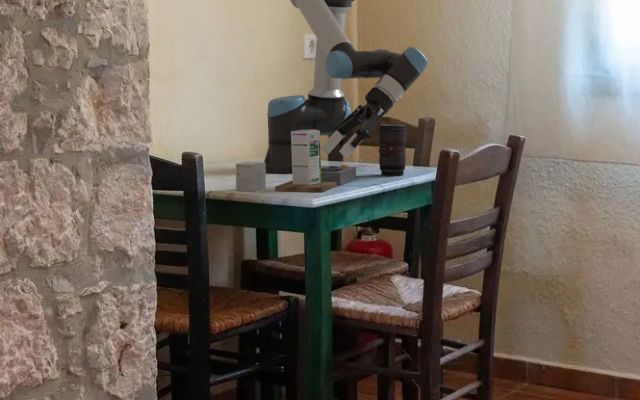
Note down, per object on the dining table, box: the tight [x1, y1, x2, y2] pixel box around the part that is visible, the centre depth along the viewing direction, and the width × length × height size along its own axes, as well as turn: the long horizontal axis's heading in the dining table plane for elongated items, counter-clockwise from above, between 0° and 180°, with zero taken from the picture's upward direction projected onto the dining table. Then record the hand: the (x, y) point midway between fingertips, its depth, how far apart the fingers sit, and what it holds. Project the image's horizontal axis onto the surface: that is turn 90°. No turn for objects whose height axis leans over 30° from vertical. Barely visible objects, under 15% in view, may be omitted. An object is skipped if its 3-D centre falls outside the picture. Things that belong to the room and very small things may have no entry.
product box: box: [235, 161, 267, 192], centre depth 251 cm, size 6×6×7 cm
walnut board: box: [274, 180, 338, 193], centre depth 252 cm, size 13×13×1 cm
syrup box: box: [291, 129, 322, 186], centre depth 251 cm, size 6×6×14 cm
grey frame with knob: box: [321, 164, 357, 187], centre depth 267 cm, size 12×16×4 cm
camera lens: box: [378, 124, 407, 177], centre depth 280 cm, size 8×8×15 cm
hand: (333, 153), depth 253 cm, fingers open, 13 cm apart
